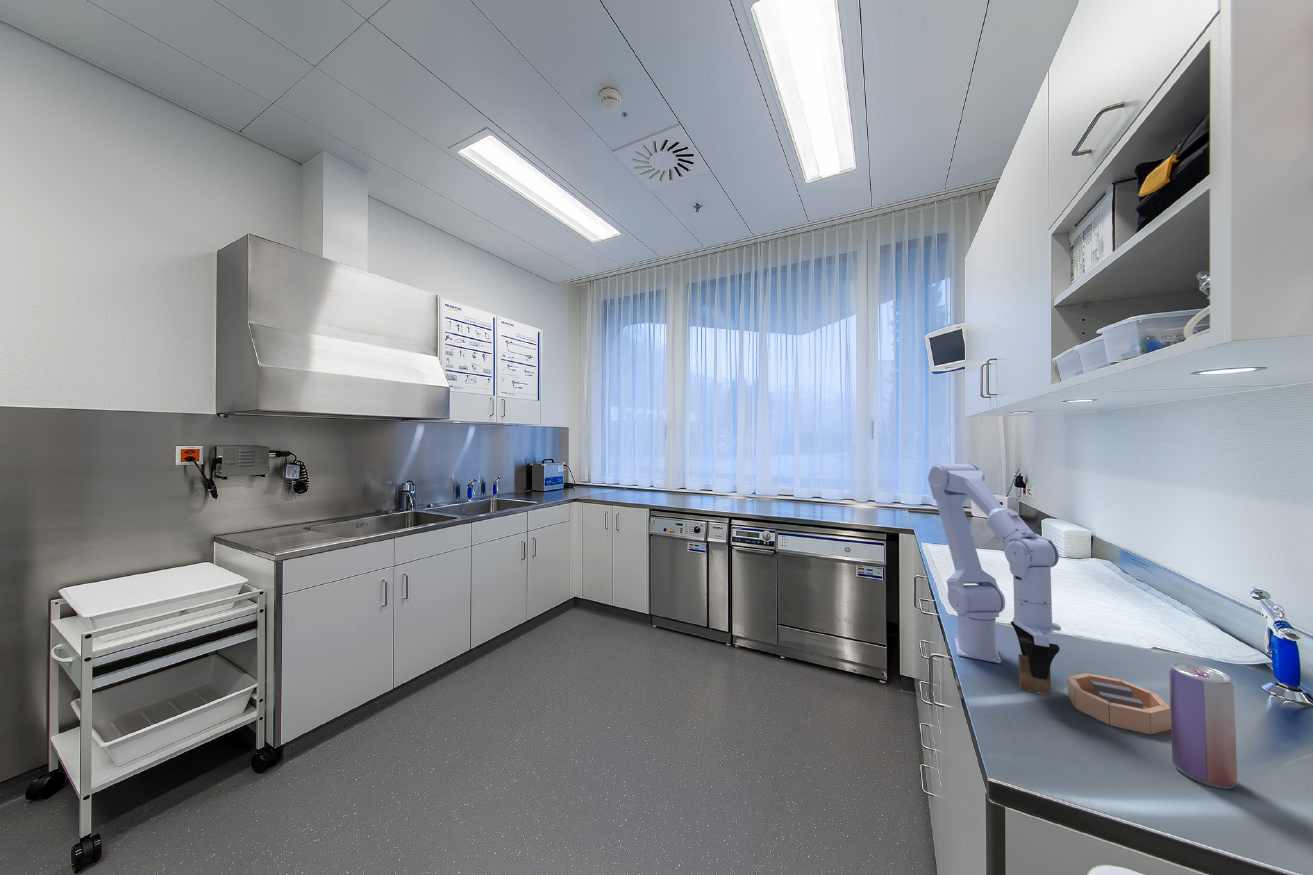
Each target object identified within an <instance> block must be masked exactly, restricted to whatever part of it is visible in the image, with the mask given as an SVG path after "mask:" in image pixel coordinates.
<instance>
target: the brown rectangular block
mask: <svg viewBox="0 0 1313 875" xmlns="http://www.w3.org/2000/svg"><path fill="white" fill-rule="evenodd" d="M1017 655H1018V656H1017V657H1018V684H1019V685H1018V686H1019V687H1020V689H1021V690H1024V691H1028V690H1031V691H1030V692H1033V693H1038V692H1040V693H1039V694H1043V693H1044V694H1043V695H1047V694H1048V695H1047V696H1051V695H1052V690H1051V689H1052V686H1051V685H1052V684H1051V683H1052V682H1051V681H1052V680H1051V676H1052V675H1051V669H1050V670H1049V674H1048V677H1047V680H1044V679H1039V678H1034V677H1032V675H1031V672H1030V668H1029V663H1028V658H1027V656H1026V655H1022V654H1019V653H1018V654H1017Z"/></svg>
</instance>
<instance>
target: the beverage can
mask: <svg viewBox="0 0 1313 875" xmlns="http://www.w3.org/2000/svg"><path fill="white" fill-rule="evenodd" d="M1168 674H1169V700H1170V701H1169V703H1170V704H1169V705H1170V706H1169V707H1170V713H1171V730H1170V732H1171V733H1170V734H1171V735H1170V736H1171V737H1170V738H1171V739H1170V740H1171V761H1172V763H1173V764H1174V766H1175V767H1176V768H1177V769H1178V771H1180V772H1181V773H1182V774H1183V775H1184V776H1186V777H1189V778H1190V779H1191V780H1194V781H1196V782H1198V783H1201V784H1203V785H1207V786H1210V787H1211V788H1212V787H1213V788H1216V789H1223V790H1224V789H1225V790H1227V789H1228V790H1229V789H1232V788H1234V787H1235V786H1237V785H1238V762H1237V757H1238V756H1237V740H1236V739H1237V736H1236V734H1237V732H1236V731H1237V730H1236V708H1235V706H1236V704H1235V703H1236V702H1235V701H1236V700H1235V687H1234V686H1235V685H1234V684H1233V683H1232V682H1233V681H1232V680H1233V679H1232V678H1231V677H1230V676H1229V675H1228V674H1227V673H1224V672H1222V671H1219V670H1217V669H1214V668H1212V667H1208V666H1205V665H1201V664H1196V663H1191V662H1181V661H1178V662H1177V661H1176V662H1172V663H1171V664H1170V668H1169V671H1168Z"/></svg>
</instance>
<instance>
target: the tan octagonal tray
mask: <svg viewBox="0 0 1313 875" xmlns="http://www.w3.org/2000/svg"><path fill="white" fill-rule="evenodd" d="M1066 678H1067V679H1066V680H1067V696H1068V698H1069V700H1070V701H1071V704H1072V705H1073V707H1074V708H1075V709H1077V710H1078V711H1079V712H1082V713H1084V714H1086V715H1087V716H1089V717H1092V718H1094V719H1096V720H1098V721H1100V722H1102V723H1104V724H1106V725H1108V726H1109V725H1110V726H1112V727H1117V728H1119V729H1120V728H1121V729H1125V730H1131V731H1133V732H1139V733H1143V734H1148V735H1154V734H1158V733H1162V732H1166V731H1171V730H1170V729H1171V708H1170V706H1169V705H1168V704H1167V703H1166V702H1165V701H1164V700H1163V699H1162V697H1161V696H1159V694H1158V693H1155V692H1153V691H1150V690H1148V689H1146V688H1144V687H1141V686H1137V685H1136V684H1133V683H1131V682H1129V681H1125V680H1123V679H1119V678H1114V677H1108V676H1103V675H1099V674H1092V673H1087V672H1085V673H1080V674H1074V675H1070V676H1067V677H1066Z"/></svg>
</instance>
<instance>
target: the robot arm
mask: <svg viewBox="0 0 1313 875" xmlns="http://www.w3.org/2000/svg"><path fill="white" fill-rule="evenodd" d="M985 477H986V476H985V473H984V471H982V470H981V468H980V467H979V466H978V465H977V464H975V463H965V464H964V463H963V464H962V463H961V464H960V463H958V464H957V463H956V464H954V463H953V464H949V463H948V464H947V463H946V464H941V463H935V464H933V465H932V466H931V468H930V471H929V473H928V476H927V480H928V484H929V486H930V491H931V495H932V498H933V500H935V501H936V506H937V510H938V514H939V516H940V521H941V523H942V524H941V525H942V527H943V531H944V535H945V538H946V542H947V544H948V549H949V552H950V556H951V558H952V559H951V560H952V564H953V566H954V570H955V572H954V573H953V574H952V575H950V577H949V578H947V580H946V584H947V600H948V603H949V604H950V607H951V608H952V609H953V611H954V612H956V613H957V637H956V638H954V644H955V649H956V652H957V653H956V654H957V656H960V657H965V658H969V659H974V660H975V659H976V660H980V661H985V662H991V663H995V664H1002V660H1001V657H1000V654H999V651H998V650H997V624H996V620H997V618H1000V613H1002V612H1003V611H1004V610H1005V607H1006V599H1005V598H1006V597H1005V595H1004V593H1003V592H1002V590H1001V589H1000V587H999V586H998V584H997V580H996V578H995V577H994V576H992V575H991V574H989V573H987V572H986V571H985V570H983V568H982V565H981V562H980V561H981V560H980V558H979V555H978V551H977V548H976V546H975V541H974V539H973V536H972V532H971V529H970V525H969V522H968V518H967V516H966V512H965V509H964V506H963V505H964V503H965V501H968V500H969V499H970V500H971V501H972V502H973V503H974V504H975V506H977V507H978V508H979V509H980V510H981V511H982V512H983V513H984V514H985V515H986V516H987V517H986V525H987V526H988V528H990V530H991V531H992V532H993V534H994V535H995V536H996V537H997V539H998V540H999V541H1000V542H1001V543H1002V545H1003V546H1004V547H1005V548H1004V550H1003V552H1004V556H1005V558H1006V561H1007V562H1008V564H1009V571H1010V573H1011V575H1012V577H1013V578H1012V580H1013V581H1012V582H1013V584H1012V586H1013V609H1014V610H1013V612H1014V613H1013V614H1014V616H1013V620H1011V621H1010V624H1011V626H1012V627H1013V630H1014V632H1015V633H1016V636H1017V639H1018V645H1019V648H1020V653H1021V655H1026V656H1027V658H1028V663H1029V668H1030V672H1031V675H1032V677H1034V678H1039V679H1044V680H1047V677H1048V674H1049V670H1050V671H1051V666H1052V662H1053V660H1054V658H1055V657H1056V655H1057V654H1058V653H1059V652H1060V646H1059V645H1058V644H1056V643H1055V644H1054V643H1050V636H1051V634H1052V633H1053V632H1054V631H1059V632H1060V631H1061V629H1062V628H1061V626H1060V625H1059V624H1058V623H1054V622H1053V608H1052V607H1053V604H1052V602H1053V601H1052V597H1053V596H1052V574H1051V570H1052V569H1051V568H1053V567H1055V566H1056V565H1057V564H1058V562H1059V559H1060V558H1059V556H1060V555H1059V551H1058V549H1057V546H1056V545H1055V544H1054V543H1053V542H1054V541H1052V539H1049V538H1048V537H1044V536H1041V535H1040V534H1038V533H1035V532H1034V531H1033V530H1032V529H1031V528H1030V527H1029V525H1028V524H1026V522H1025V521H1024V520H1023V519H1022V518H1021V517H1020V514H1019V513H1017V511H1016V510H1013V509H1010V508H1004V507H1003V505H1002V504H1001V503H1000V500H998V499H997V497H996V496H995V494H994V493H993V492H992V490H991V489H990V488H989V487H988V485H987V484H986V482H985Z"/></svg>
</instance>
